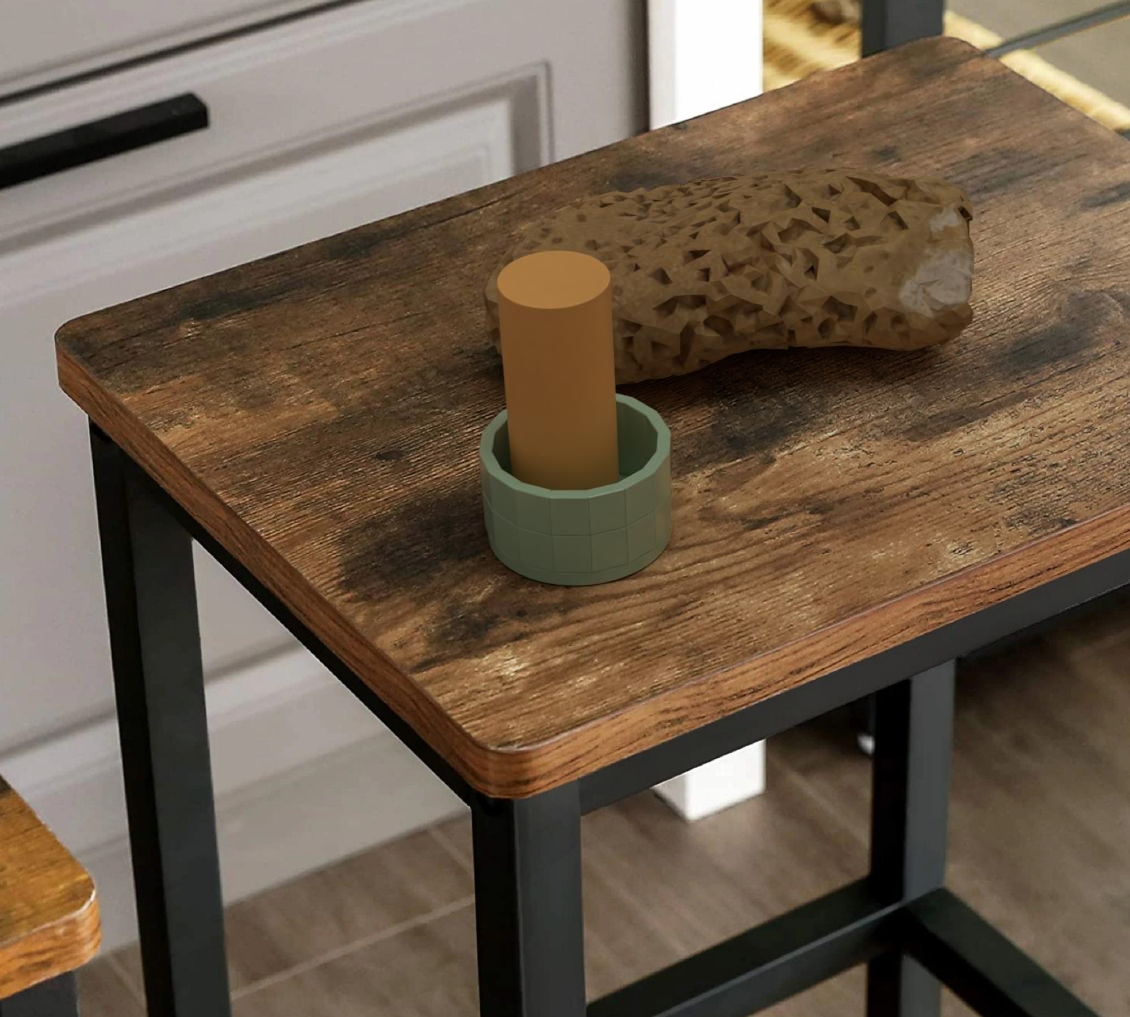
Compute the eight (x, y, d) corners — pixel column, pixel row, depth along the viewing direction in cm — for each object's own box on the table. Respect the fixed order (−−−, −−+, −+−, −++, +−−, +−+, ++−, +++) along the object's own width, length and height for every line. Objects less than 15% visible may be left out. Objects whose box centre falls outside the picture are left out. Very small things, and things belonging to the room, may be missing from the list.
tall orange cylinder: (595, 549, 79) (583, 316, 74) (497, 526, 81) (477, 296, 75) (636, 489, 82) (627, 260, 76) (541, 468, 84) (525, 242, 78)
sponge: (939, 279, 97) (503, 201, 97) (989, 143, 91) (525, 58, 91) (942, 491, 88) (462, 406, 88) (997, 355, 82) (483, 263, 82)
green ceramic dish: (702, 499, 83) (701, 412, 80) (623, 605, 78) (619, 515, 75) (539, 458, 85) (534, 373, 83) (454, 558, 80) (445, 471, 78)
